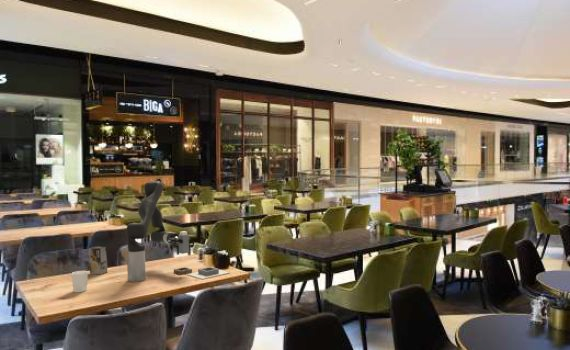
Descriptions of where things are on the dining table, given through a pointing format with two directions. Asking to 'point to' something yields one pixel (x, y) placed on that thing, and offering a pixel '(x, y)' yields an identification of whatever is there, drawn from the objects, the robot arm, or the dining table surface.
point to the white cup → (79, 281)
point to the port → (208, 273)
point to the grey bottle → (184, 242)
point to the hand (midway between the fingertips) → (186, 240)
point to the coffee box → (98, 260)
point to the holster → (182, 270)
